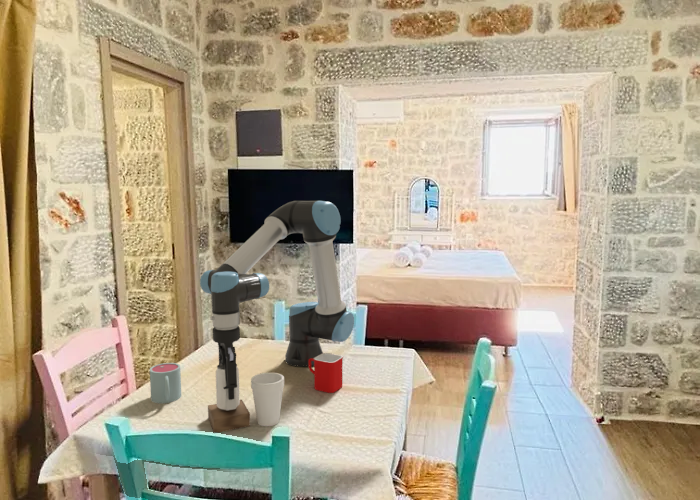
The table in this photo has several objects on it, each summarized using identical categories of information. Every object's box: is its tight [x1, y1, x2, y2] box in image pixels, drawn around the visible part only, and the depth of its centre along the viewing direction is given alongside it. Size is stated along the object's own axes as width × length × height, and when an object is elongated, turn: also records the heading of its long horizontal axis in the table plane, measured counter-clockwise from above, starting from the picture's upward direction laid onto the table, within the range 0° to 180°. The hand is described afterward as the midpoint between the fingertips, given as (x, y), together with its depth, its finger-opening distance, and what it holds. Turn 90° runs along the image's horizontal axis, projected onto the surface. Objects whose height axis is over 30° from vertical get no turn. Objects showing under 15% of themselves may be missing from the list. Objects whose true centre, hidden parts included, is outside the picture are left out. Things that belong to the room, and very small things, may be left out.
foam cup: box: [250, 371, 285, 427], centre depth 142 cm, size 10×9×13 cm
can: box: [215, 363, 241, 410], centre depth 141 cm, size 6×6×12 cm
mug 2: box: [308, 352, 344, 394], centre depth 168 cm, size 12×8×11 cm
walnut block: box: [207, 399, 251, 433], centre depth 142 cm, size 10×10×4 cm
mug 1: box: [149, 362, 182, 404], centre depth 157 cm, size 14×9×10 cm
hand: (228, 404), depth 142 cm, fingers closed on can, 6 cm apart
